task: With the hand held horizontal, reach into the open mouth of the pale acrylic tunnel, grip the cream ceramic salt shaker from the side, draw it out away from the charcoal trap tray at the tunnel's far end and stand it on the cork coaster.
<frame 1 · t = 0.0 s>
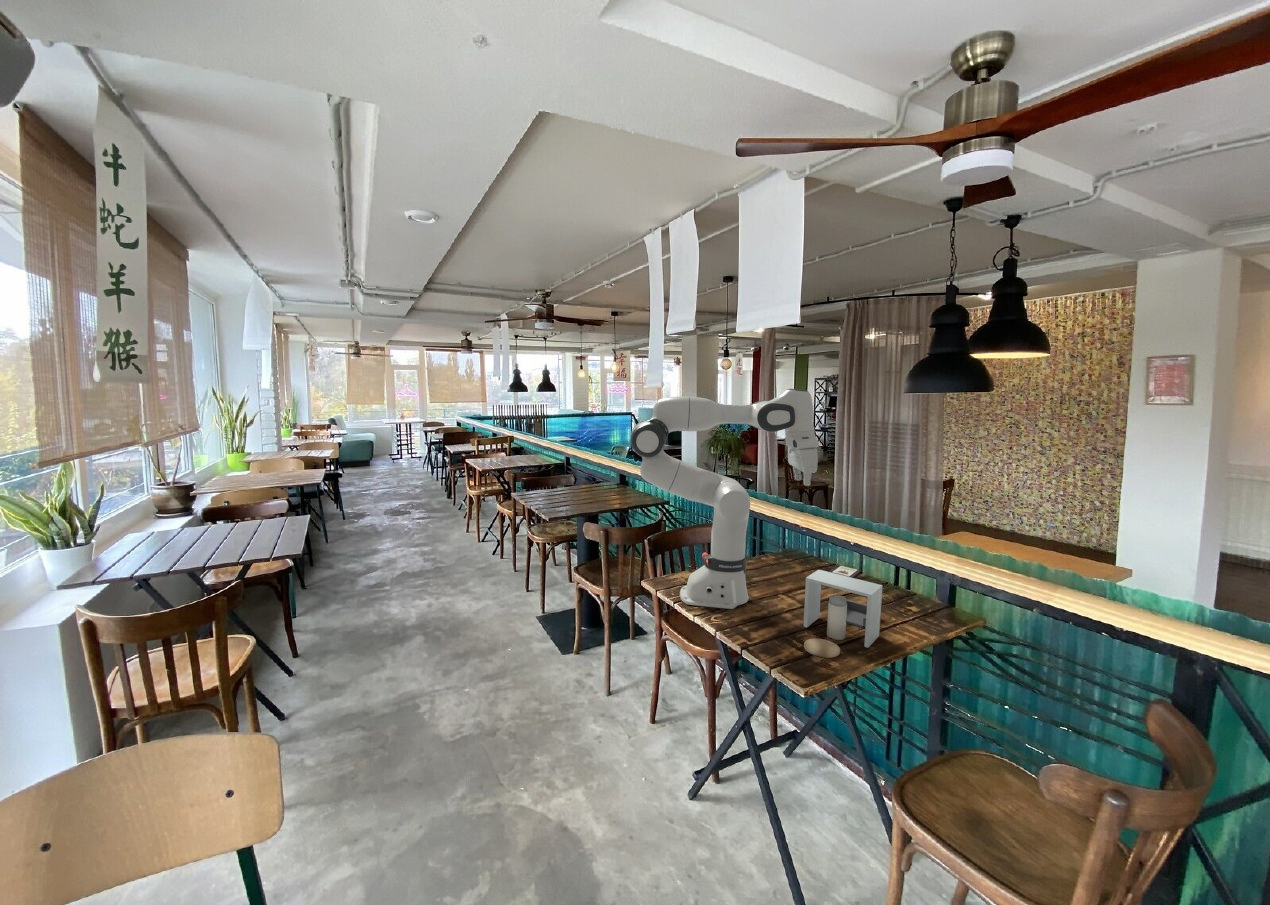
hand: (802, 482, 163), 39 cm above the table, tool pointing down, fingers open, 8 cm apart
chocolate bar: (840, 577, 189), on the table
coaster: (821, 648, 135), on the table
shaker: (835, 635, 143), on the table
trap tray: (854, 617, 154), on the table
tunnel: (840, 631, 145), on the table
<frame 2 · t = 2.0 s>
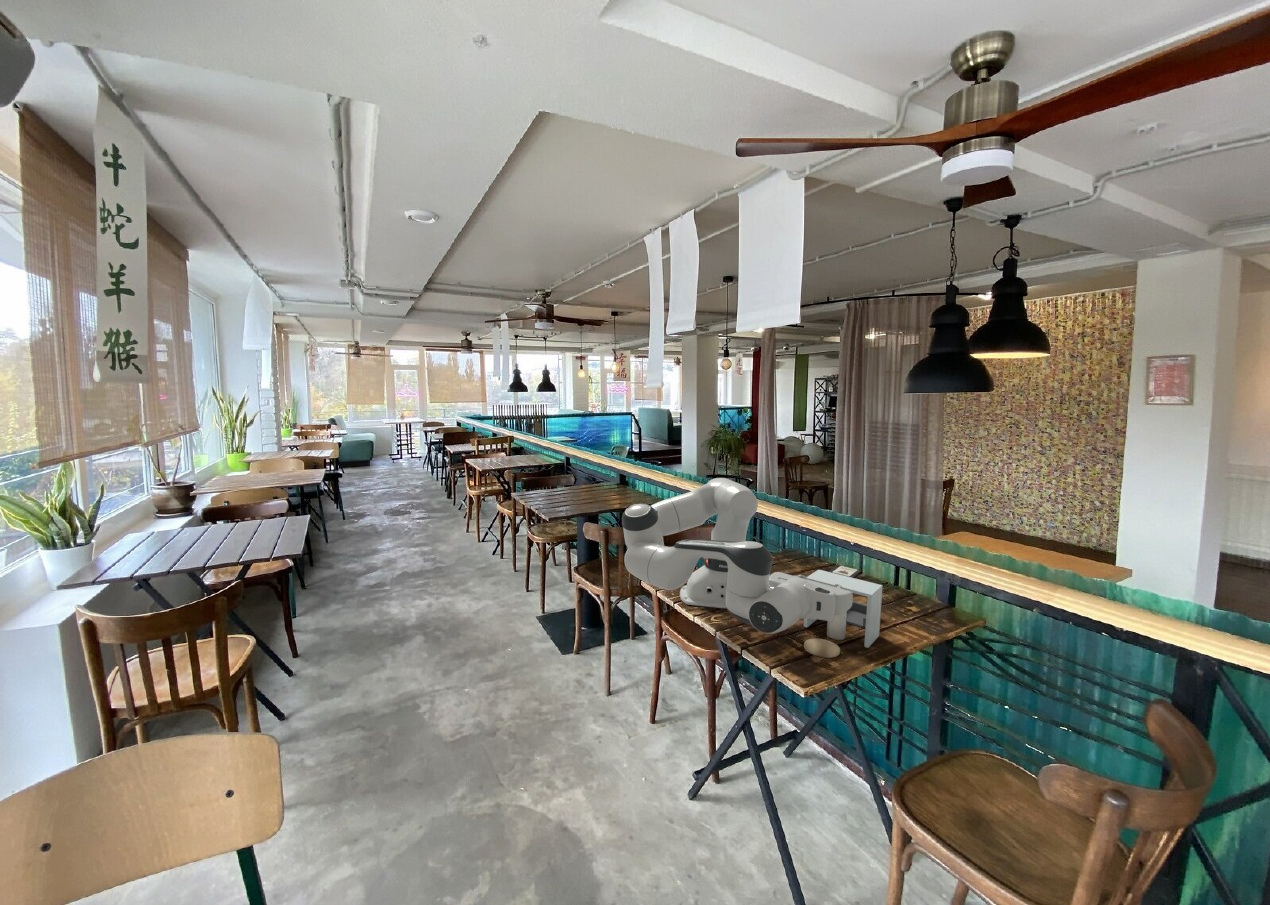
hand: (820, 582, 131), 19 cm above the table, tool horizontal, fingers open, 8 cm apart
nothing on the table moved.
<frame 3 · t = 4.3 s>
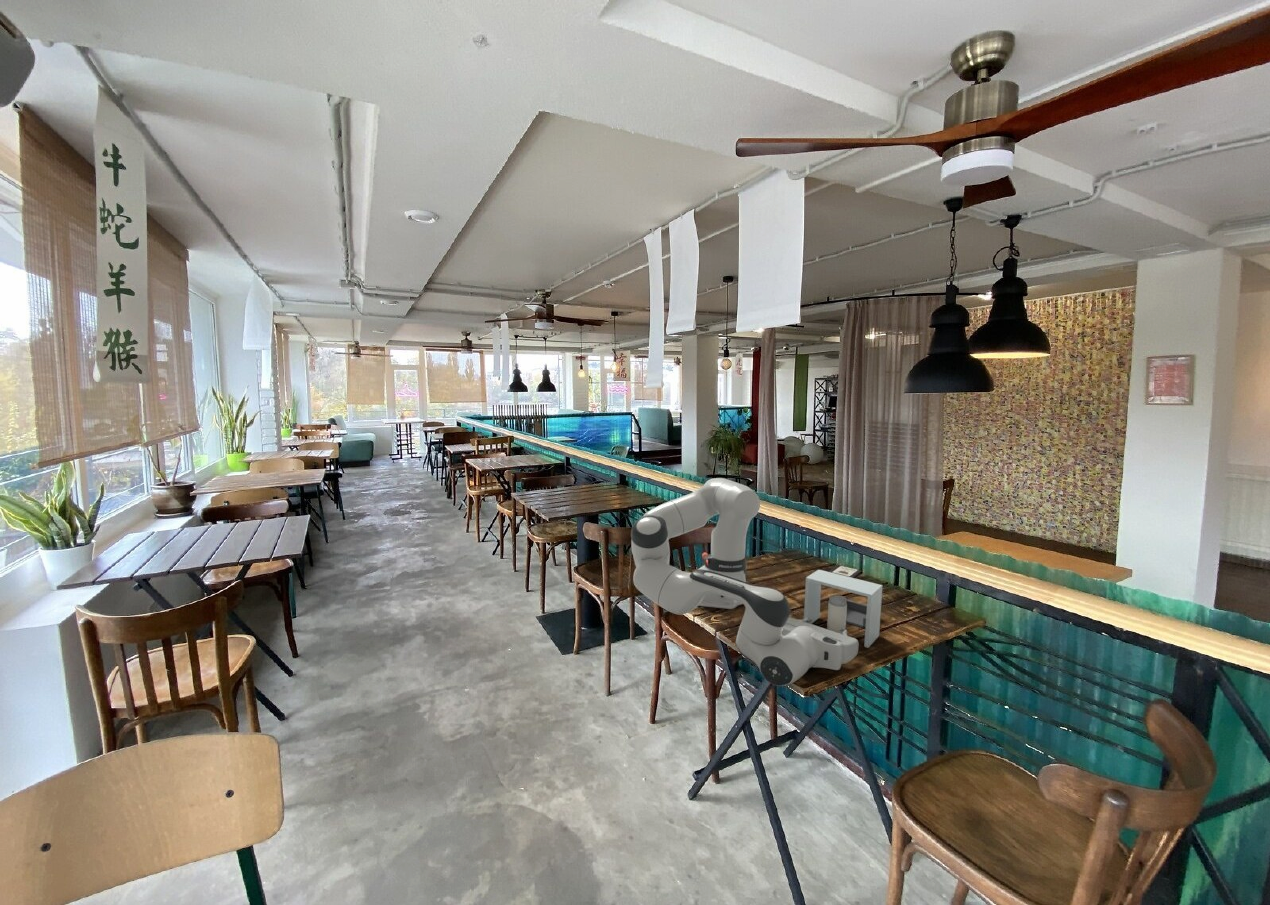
hand: (826, 626, 136), 6 cm above the table, tool horizontal, fingers open, 8 cm apart
nothing on the table moved.
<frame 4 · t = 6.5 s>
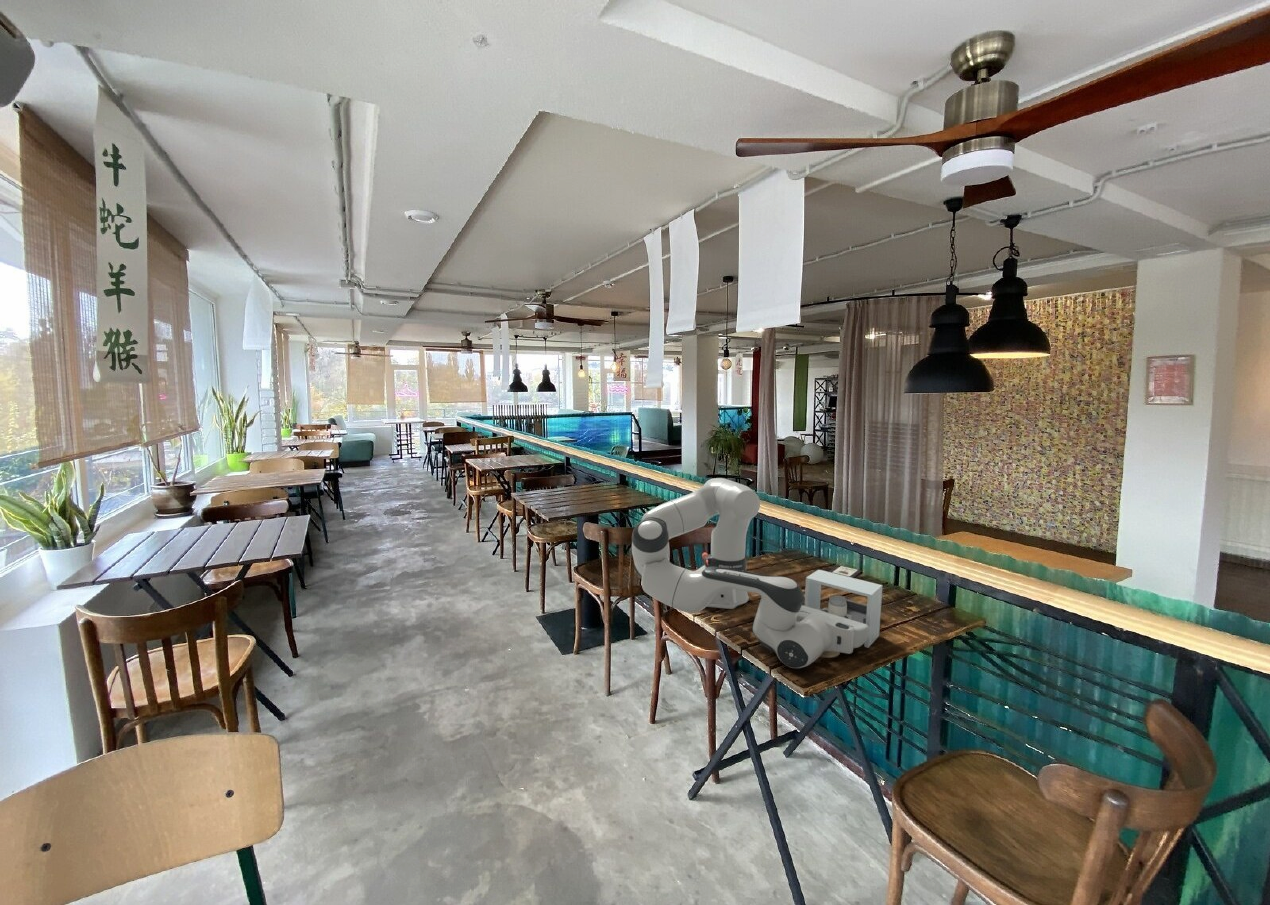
hand: (838, 614, 142), 6 cm above the table, tool horizontal, fingers closed on shaker, 5 cm apart
shaker: (835, 635, 143), on the table, touching gripper
everything else where it was.
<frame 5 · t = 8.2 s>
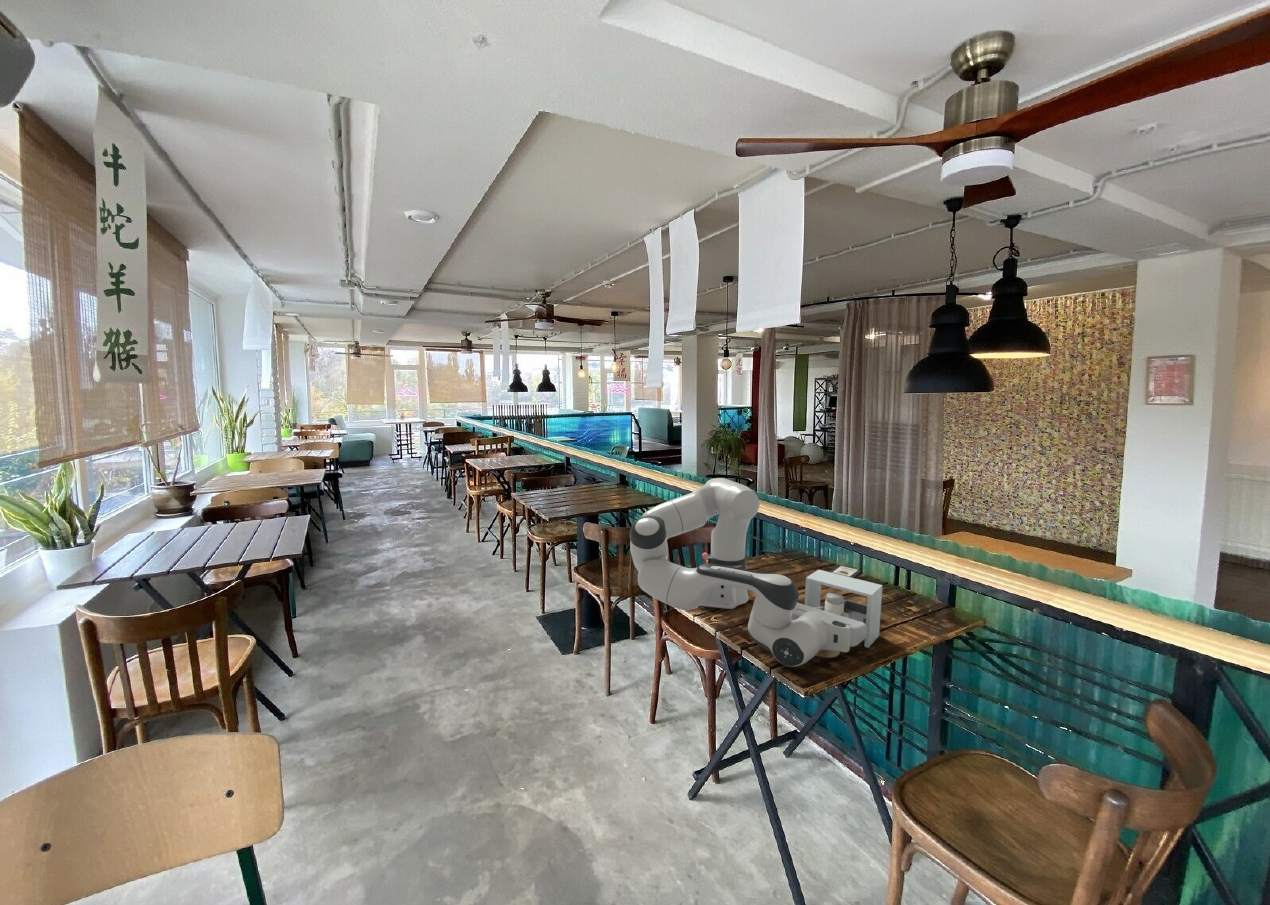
hand: (835, 612, 140), 8 cm above the table, tool horizontal, fingers closed on shaker, 5 cm apart
shaker: (832, 634, 140), point 2 cm above the table, touching gripper
everything else where it was.
when the fingers open (7 cm above the table, at t = 10.2 s): shaker stays where it is, resting on coaster.
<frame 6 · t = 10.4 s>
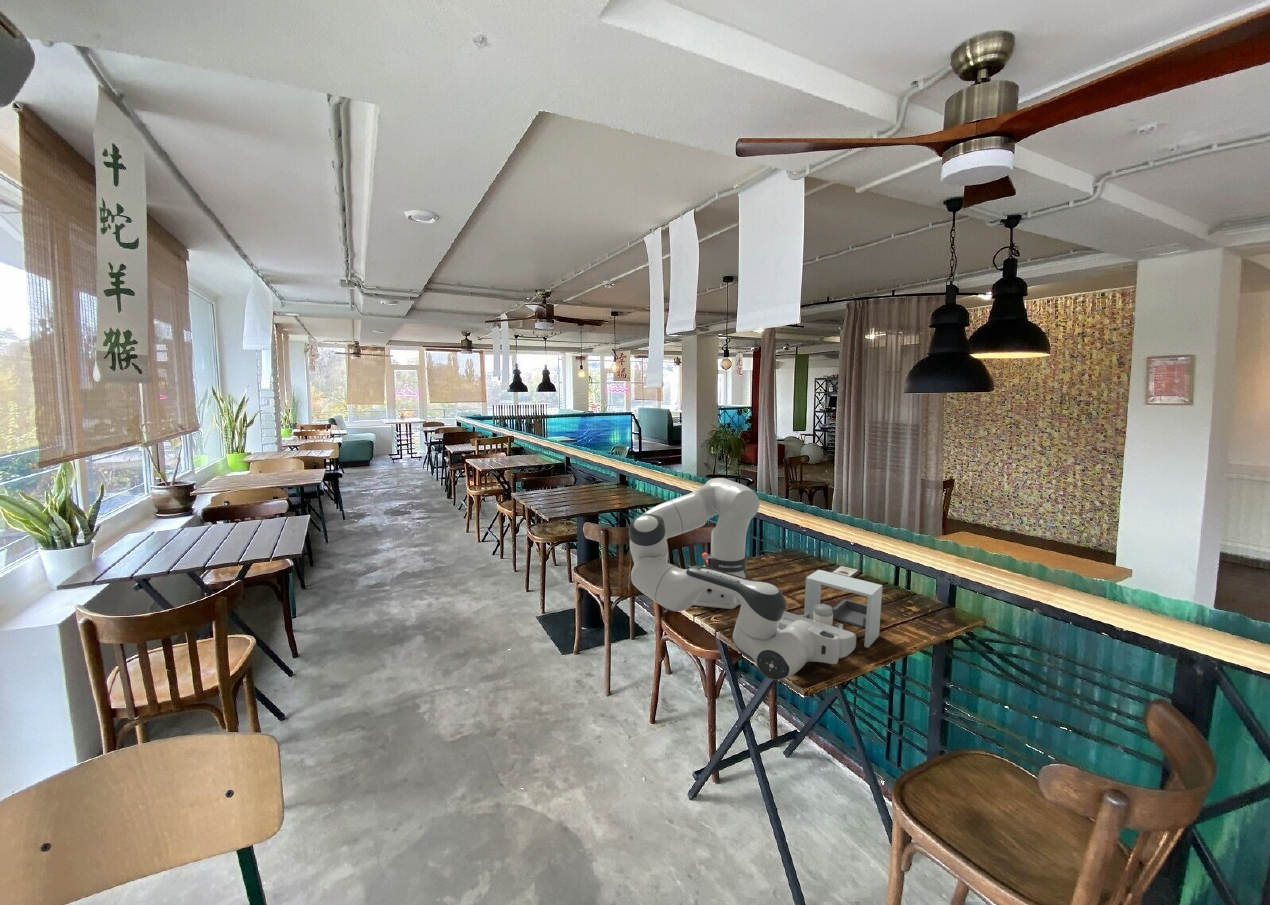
hand: (824, 621, 135), 7 cm above the table, tool horizontal, fingers open, 7 cm apart
shaker: (821, 646, 135), point 1 cm above the table, touching coaster
everything else where it was.
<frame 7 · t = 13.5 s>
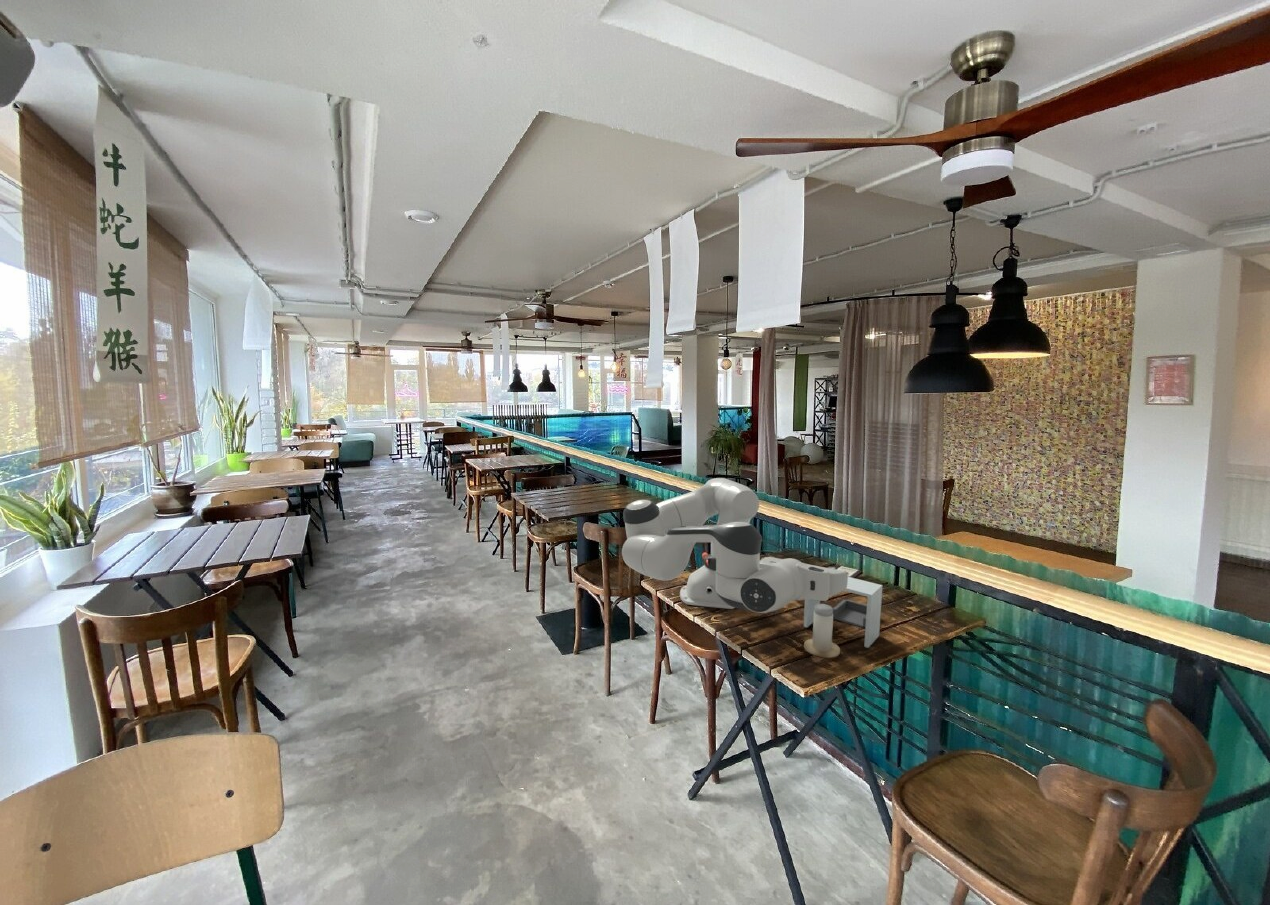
hand: (813, 566, 126), 25 cm above the table, tool horizontal, fingers open, 8 cm apart
nothing on the table moved.
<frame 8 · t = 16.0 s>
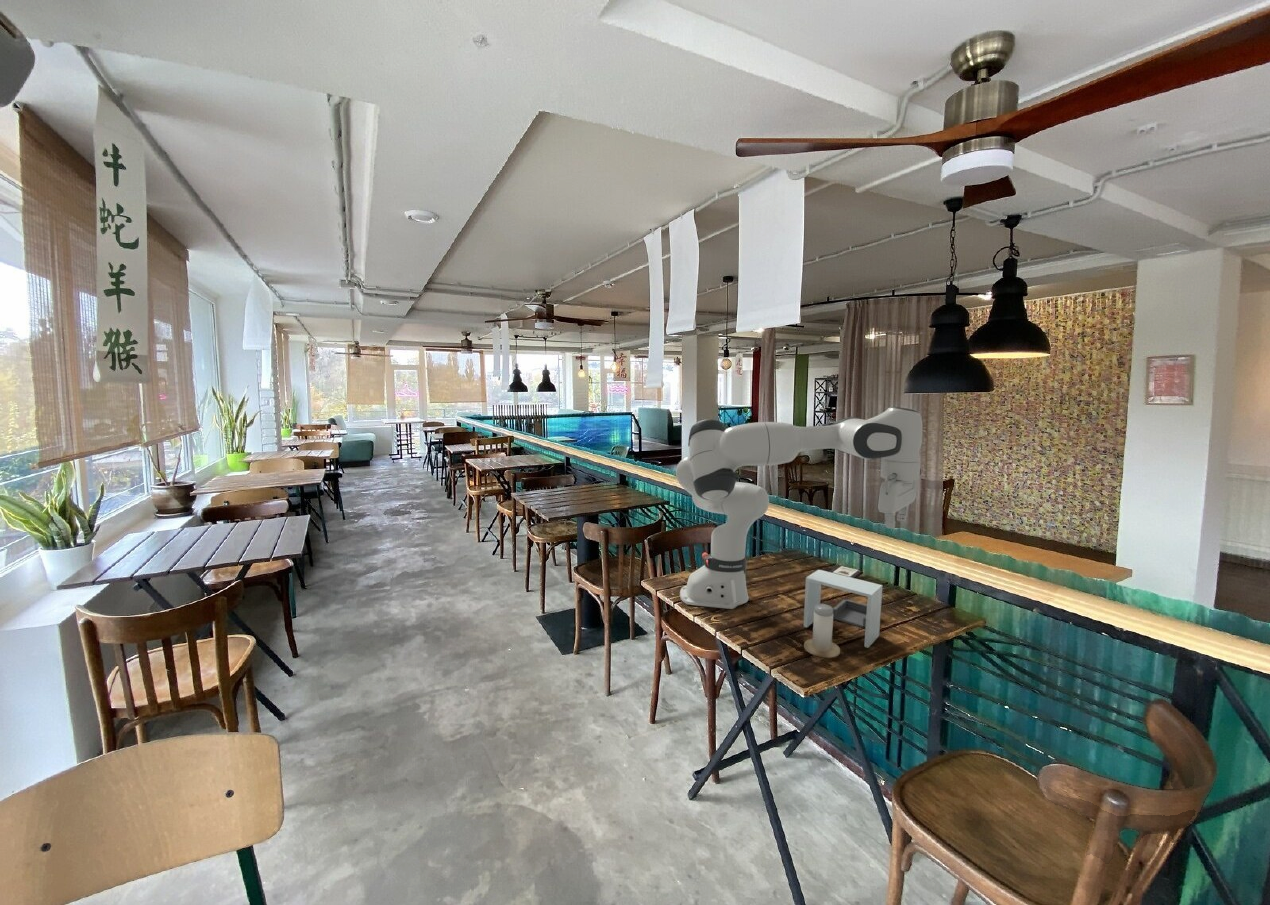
hand: (895, 524, 131), 34 cm above the table, tool pointing down, fingers open, 8 cm apart
nothing on the table moved.
at the end: shaker 0.0 cm from the coaster (horizontally); shaker tilted 0°; the gripper is holding nothing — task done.
